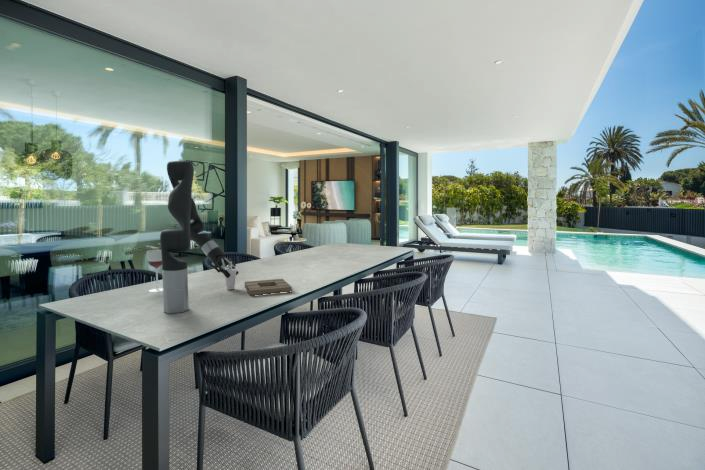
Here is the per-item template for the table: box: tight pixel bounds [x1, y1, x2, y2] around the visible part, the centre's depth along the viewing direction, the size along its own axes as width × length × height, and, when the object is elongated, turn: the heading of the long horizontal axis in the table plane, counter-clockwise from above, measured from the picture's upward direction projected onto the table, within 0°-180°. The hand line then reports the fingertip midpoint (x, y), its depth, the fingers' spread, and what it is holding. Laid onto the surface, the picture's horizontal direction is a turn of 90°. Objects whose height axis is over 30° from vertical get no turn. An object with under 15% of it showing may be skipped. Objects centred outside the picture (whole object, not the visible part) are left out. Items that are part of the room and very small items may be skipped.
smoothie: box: [224, 261, 238, 290], centre depth 181 cm, size 6×6×14 cm
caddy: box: [244, 278, 293, 297], centre depth 181 cm, size 20×20×3 cm
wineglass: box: [145, 248, 163, 293], centre depth 178 cm, size 8×9×20 cm
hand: (233, 275), depth 181 cm, fingers closed on smoothie, 6 cm apart
